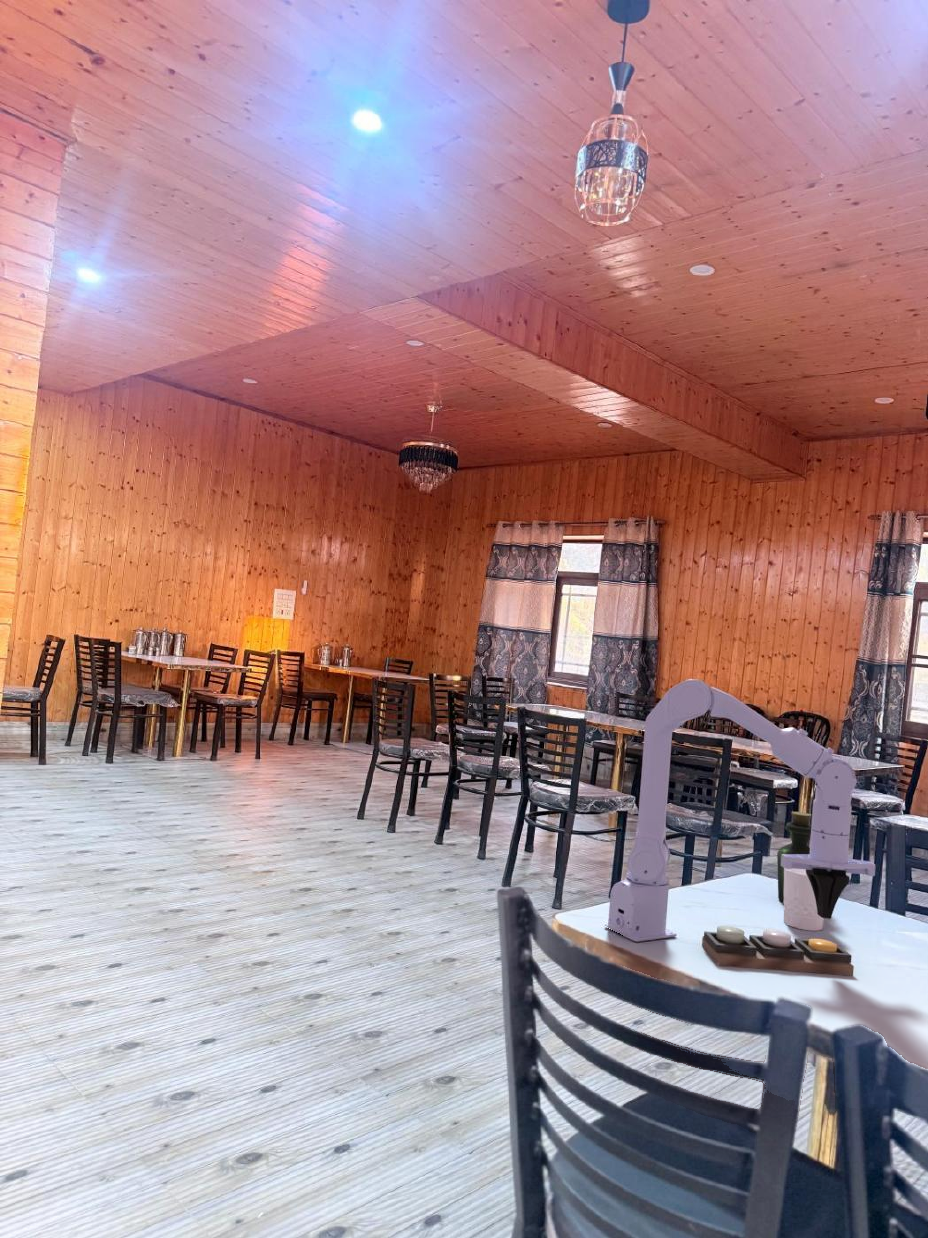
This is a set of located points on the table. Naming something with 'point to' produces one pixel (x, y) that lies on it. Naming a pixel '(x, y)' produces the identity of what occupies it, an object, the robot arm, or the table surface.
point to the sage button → (730, 934)
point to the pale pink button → (776, 938)
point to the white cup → (800, 901)
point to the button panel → (777, 955)
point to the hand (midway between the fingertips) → (824, 916)
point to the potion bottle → (794, 844)
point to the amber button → (822, 945)
